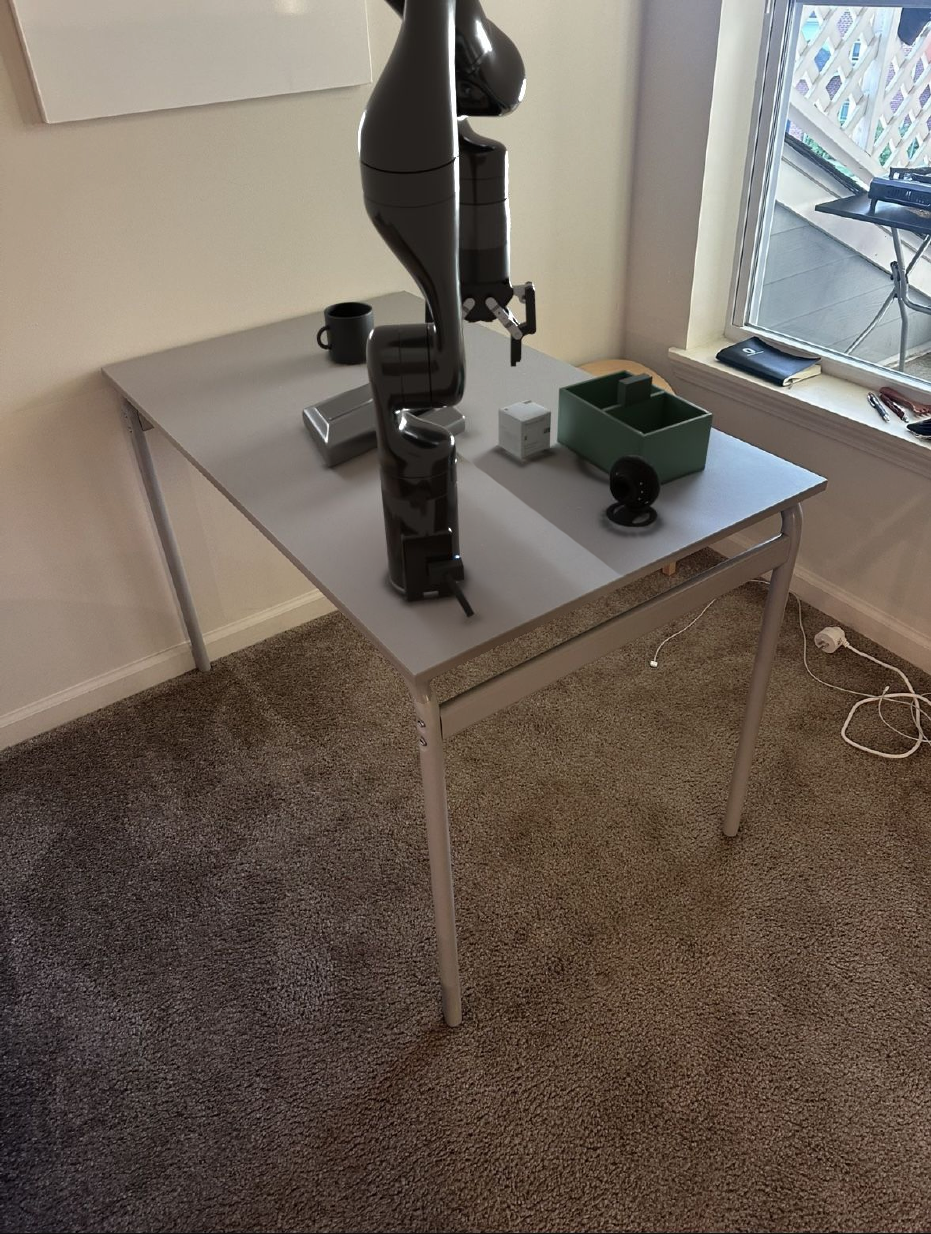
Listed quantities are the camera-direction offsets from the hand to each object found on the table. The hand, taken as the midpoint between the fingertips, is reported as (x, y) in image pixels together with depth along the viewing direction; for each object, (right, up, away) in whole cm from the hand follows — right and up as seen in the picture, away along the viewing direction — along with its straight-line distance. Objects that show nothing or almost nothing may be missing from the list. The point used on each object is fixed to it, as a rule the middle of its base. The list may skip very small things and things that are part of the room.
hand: (481, 365), depth 118 cm
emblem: (-16, -2, +32) cm, 36 cm away
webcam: (+21, -20, +8) cm, 30 cm away
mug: (-26, +18, +59) cm, 67 cm away
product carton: (+7, -7, +25) cm, 27 cm away
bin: (+23, -8, +21) cm, 32 cm away
